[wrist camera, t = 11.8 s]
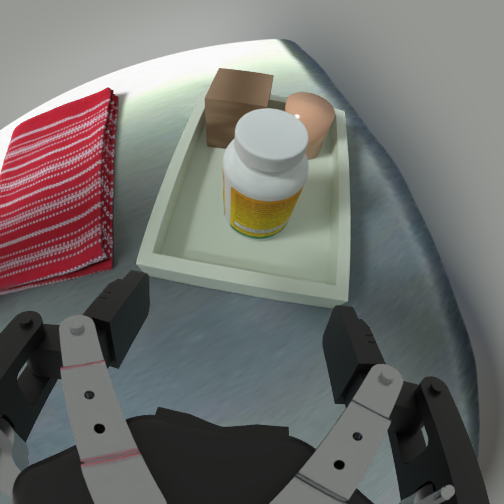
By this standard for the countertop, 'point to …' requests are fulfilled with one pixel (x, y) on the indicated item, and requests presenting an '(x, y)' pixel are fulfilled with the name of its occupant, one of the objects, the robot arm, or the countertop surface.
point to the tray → (242, 249)
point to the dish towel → (59, 195)
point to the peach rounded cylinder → (312, 118)
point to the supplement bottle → (264, 173)
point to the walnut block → (233, 102)
